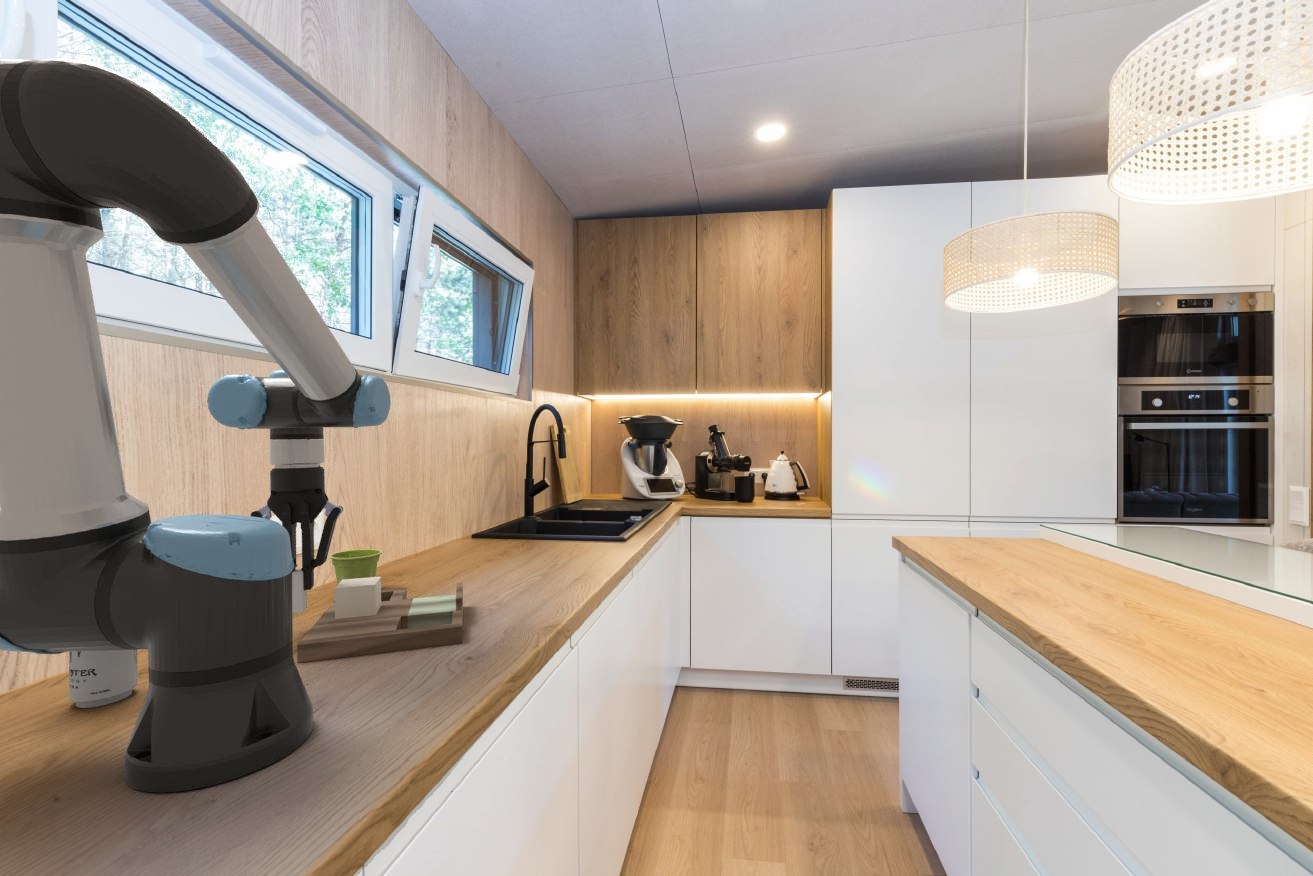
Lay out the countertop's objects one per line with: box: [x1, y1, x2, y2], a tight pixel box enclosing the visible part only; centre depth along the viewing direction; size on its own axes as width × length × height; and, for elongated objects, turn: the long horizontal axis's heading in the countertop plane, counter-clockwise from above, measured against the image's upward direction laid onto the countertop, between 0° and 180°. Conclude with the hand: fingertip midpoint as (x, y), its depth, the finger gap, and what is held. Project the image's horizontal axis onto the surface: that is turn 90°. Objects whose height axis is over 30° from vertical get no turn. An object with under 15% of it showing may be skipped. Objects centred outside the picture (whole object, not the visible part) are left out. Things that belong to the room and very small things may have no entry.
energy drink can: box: [68, 649, 139, 709], centre depth 70 cm, size 6×6×15 cm
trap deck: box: [296, 582, 464, 664], centre depth 97 cm, size 29×22×4 cm
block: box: [334, 576, 382, 619], centre depth 96 cm, size 6×6×5 cm
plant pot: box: [329, 548, 383, 586], centre depth 115 cm, size 9×9×9 cm
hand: (299, 610), depth 93 cm, fingers closed
